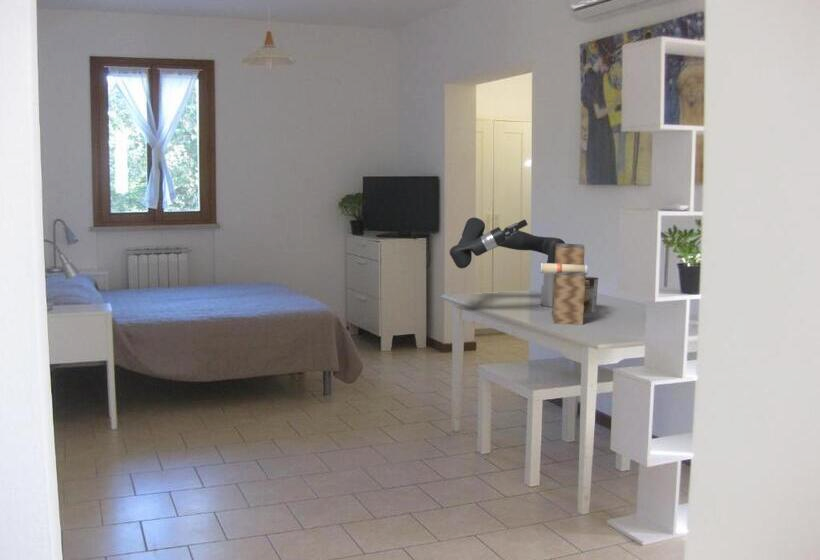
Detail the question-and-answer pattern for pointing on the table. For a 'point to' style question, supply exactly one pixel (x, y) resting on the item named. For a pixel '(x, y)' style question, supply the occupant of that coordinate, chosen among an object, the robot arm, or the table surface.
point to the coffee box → (590, 294)
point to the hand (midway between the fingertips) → (526, 221)
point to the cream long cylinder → (563, 268)
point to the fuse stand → (568, 286)
